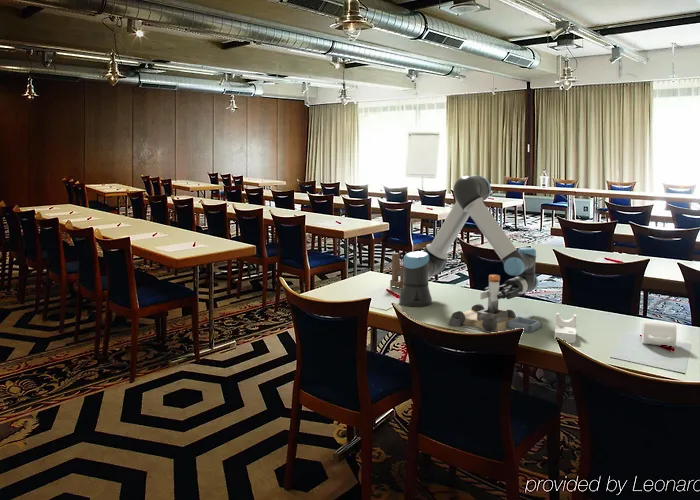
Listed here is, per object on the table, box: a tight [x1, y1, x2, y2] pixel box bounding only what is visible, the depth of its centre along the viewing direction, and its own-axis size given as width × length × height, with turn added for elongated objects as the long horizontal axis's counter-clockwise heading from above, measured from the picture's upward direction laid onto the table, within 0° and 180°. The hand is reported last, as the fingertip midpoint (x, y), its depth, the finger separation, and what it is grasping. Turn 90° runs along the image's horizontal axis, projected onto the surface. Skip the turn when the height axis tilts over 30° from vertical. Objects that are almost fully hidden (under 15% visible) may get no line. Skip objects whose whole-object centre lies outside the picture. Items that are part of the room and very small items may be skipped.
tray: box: [505, 316, 543, 334], centre depth 214 cm, size 10×10×2 cm
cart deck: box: [450, 303, 517, 332], centre depth 221 cm, size 20×18×6 cm
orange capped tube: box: [487, 274, 501, 314], centre depth 217 cm, size 4×4×16 cm
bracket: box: [554, 312, 577, 344], centre depth 203 cm, size 13×7×8 cm, turn 158°
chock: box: [448, 317, 462, 327], centre depth 218 cm, size 4×2×2 cm, turn 47°
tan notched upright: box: [389, 252, 403, 289], centre depth 284 cm, size 4×11×18 cm, turn 41°
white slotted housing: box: [641, 320, 677, 348], centre depth 191 cm, size 12×10×8 cm
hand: (486, 297), depth 213 cm, fingers closed on orange capped tube, 4 cm apart
